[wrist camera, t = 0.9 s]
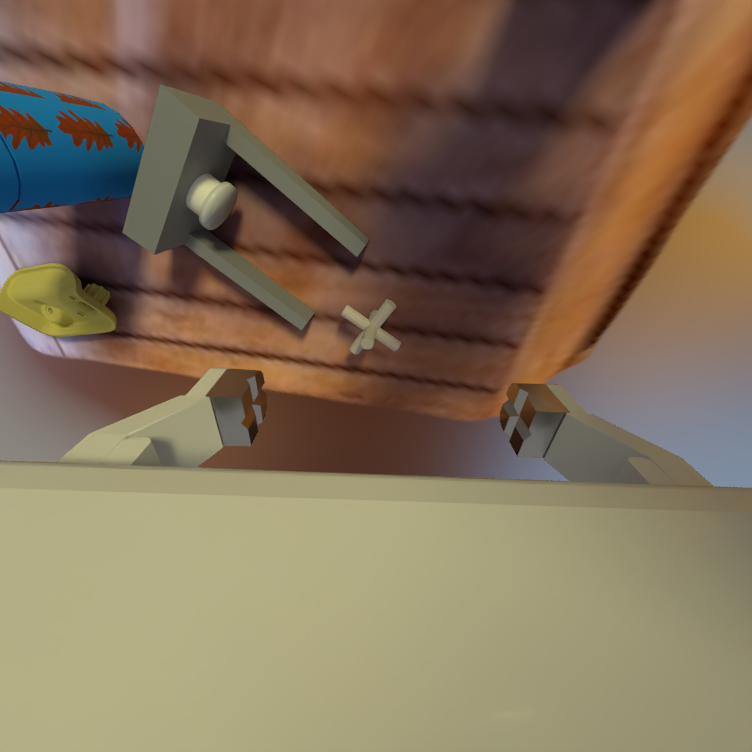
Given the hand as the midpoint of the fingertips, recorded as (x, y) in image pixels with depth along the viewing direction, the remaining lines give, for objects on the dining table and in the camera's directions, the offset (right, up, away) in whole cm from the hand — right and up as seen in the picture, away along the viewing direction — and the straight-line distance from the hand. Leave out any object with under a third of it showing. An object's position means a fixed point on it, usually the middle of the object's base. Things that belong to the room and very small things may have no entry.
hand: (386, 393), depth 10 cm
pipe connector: (0, +11, +41) cm, 42 cm away
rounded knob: (-23, +26, +31) cm, 46 cm away
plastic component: (-54, +15, +46) cm, 72 cm away
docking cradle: (-16, +22, +35) cm, 44 cm away
